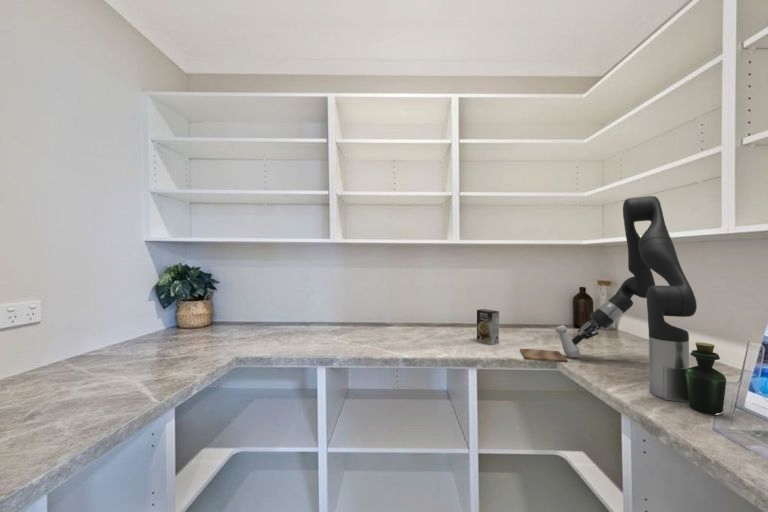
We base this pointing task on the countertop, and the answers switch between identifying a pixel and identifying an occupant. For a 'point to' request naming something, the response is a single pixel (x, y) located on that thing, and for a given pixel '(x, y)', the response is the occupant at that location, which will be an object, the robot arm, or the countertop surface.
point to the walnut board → (543, 355)
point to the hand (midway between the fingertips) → (573, 342)
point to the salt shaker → (567, 342)
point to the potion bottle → (705, 381)
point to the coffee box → (488, 326)
